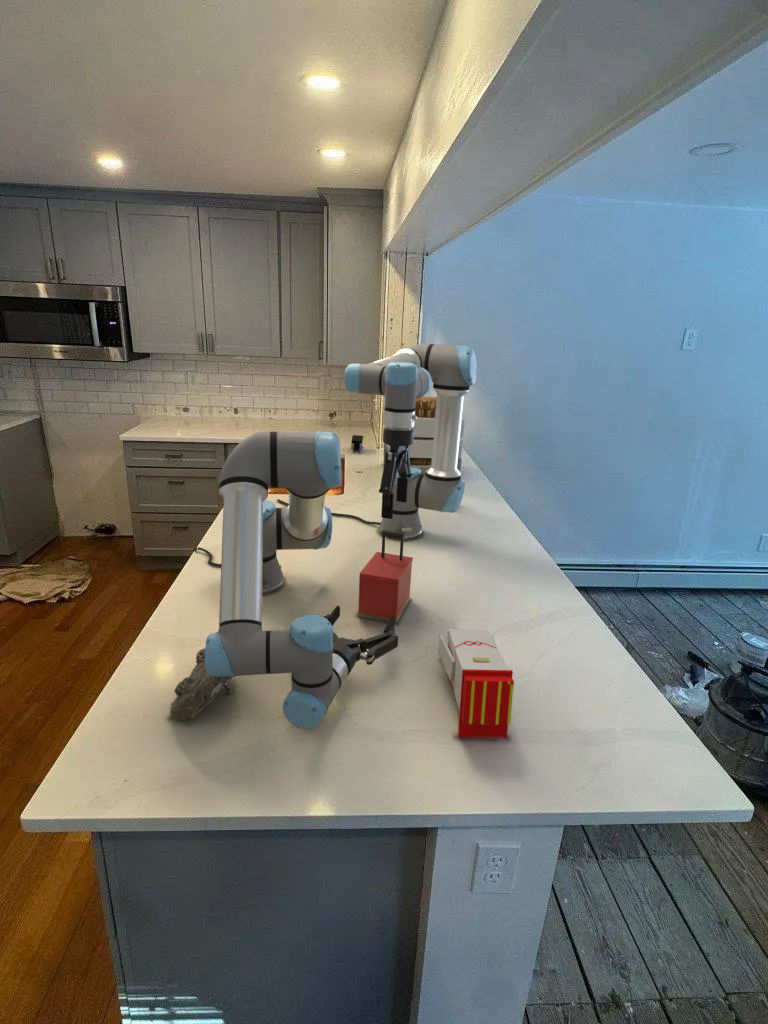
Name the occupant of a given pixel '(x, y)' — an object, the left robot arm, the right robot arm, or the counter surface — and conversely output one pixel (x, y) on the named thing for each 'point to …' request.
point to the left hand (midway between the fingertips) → (365, 616)
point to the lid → (387, 562)
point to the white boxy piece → (425, 434)
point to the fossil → (196, 690)
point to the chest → (383, 597)
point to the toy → (478, 682)
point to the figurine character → (356, 443)
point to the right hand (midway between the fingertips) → (394, 509)
